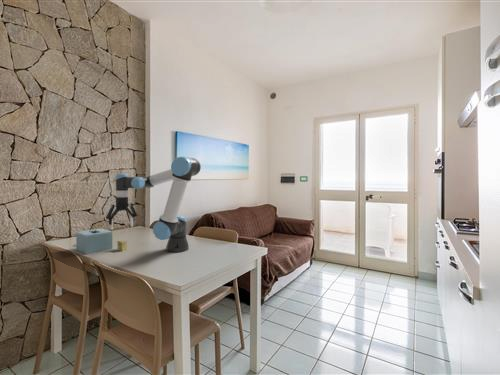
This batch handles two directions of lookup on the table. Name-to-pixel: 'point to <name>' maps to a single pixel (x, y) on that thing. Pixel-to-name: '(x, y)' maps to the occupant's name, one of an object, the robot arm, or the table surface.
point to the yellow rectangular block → (122, 245)
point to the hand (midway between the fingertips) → (122, 228)
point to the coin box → (93, 240)
